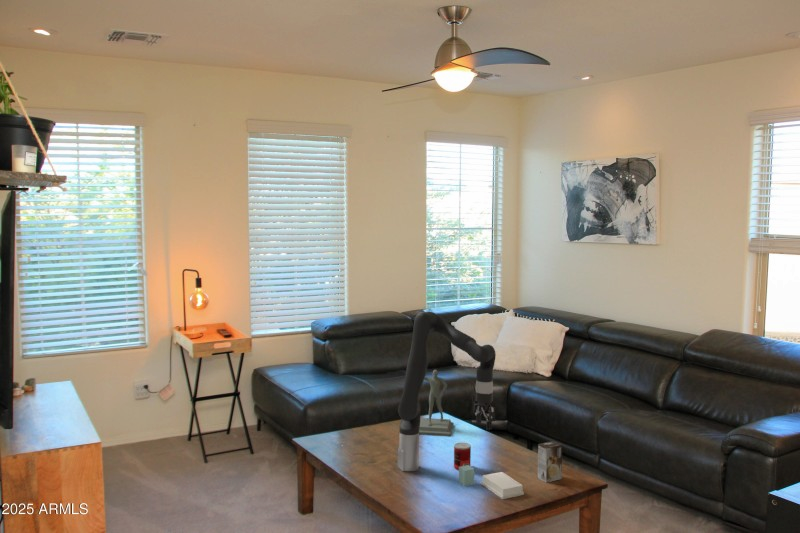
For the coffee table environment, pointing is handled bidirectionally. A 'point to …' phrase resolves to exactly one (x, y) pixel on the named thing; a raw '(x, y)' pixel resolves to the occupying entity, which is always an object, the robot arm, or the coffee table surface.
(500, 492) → the plinth
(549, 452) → the coffee box
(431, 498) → the coffee table surface
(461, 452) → the canned food
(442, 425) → the statue
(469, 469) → the block
